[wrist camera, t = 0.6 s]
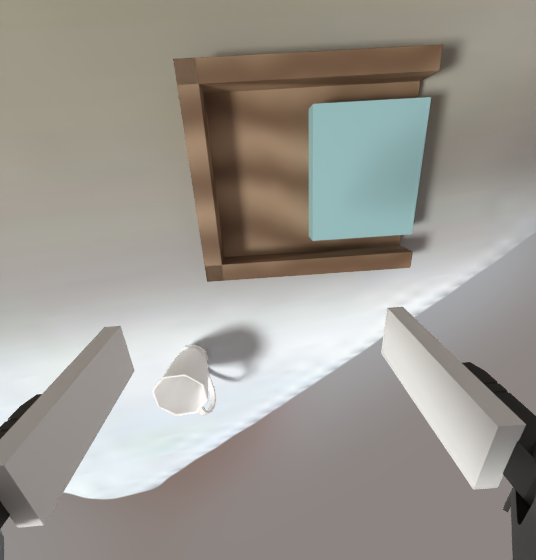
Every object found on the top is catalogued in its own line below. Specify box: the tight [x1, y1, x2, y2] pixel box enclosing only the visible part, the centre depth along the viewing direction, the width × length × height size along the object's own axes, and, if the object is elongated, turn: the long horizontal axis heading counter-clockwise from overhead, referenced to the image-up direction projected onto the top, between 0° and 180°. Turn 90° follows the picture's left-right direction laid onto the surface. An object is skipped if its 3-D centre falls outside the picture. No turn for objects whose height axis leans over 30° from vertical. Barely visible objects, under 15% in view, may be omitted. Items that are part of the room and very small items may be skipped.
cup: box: [152, 344, 216, 416], centre depth 38 cm, size 7×10×8 cm
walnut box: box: [173, 45, 443, 282], centre depth 31 cm, size 22×25×4 cm
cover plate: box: [309, 97, 431, 241], centre depth 31 cm, size 14×12×2 cm
